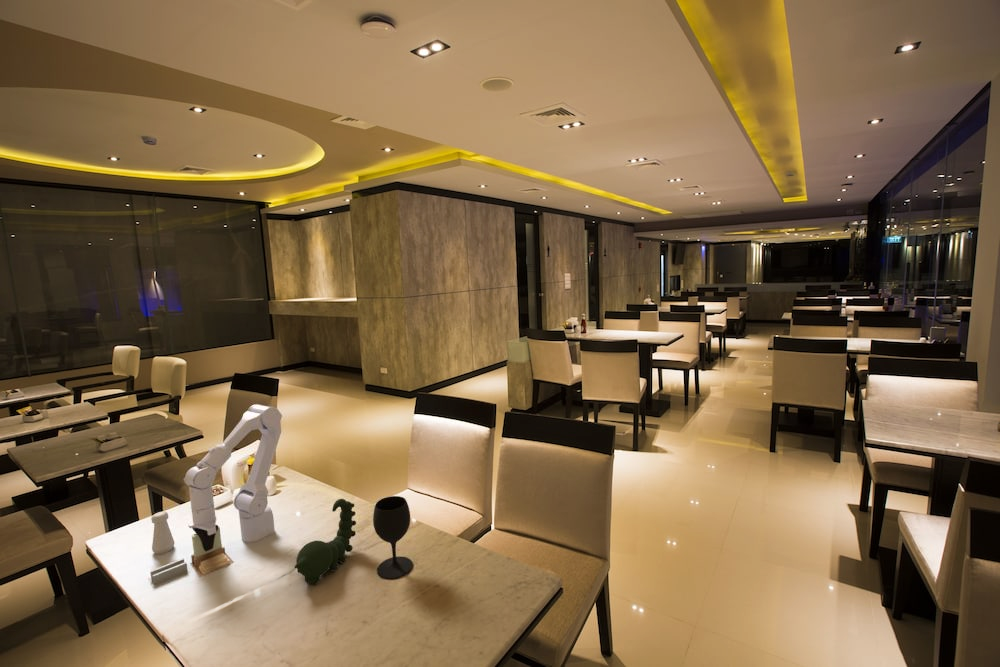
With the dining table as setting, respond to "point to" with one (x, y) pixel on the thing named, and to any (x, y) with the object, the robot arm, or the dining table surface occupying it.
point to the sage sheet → (199, 548)
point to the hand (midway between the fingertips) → (207, 548)
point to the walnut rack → (197, 561)
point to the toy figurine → (327, 547)
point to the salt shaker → (161, 534)
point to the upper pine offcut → (213, 561)
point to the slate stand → (168, 572)
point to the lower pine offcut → (214, 567)
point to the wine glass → (392, 534)
